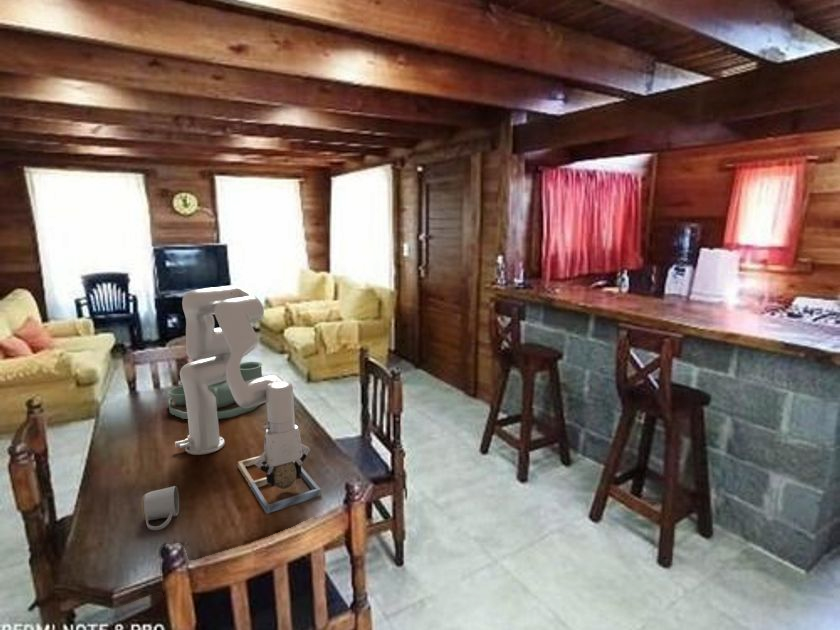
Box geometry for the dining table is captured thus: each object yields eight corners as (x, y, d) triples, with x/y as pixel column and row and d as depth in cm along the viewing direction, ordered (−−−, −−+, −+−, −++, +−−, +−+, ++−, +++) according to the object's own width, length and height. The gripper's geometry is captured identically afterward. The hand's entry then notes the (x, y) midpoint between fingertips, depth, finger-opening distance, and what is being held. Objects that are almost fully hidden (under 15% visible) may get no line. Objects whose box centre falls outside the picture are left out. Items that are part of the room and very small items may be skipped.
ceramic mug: (147, 511, 133) (144, 486, 131) (180, 505, 135) (177, 480, 134) (140, 535, 123) (136, 508, 121) (175, 528, 126) (172, 502, 124)
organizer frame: (266, 514, 132) (265, 507, 131) (238, 467, 156) (237, 461, 155) (321, 495, 140) (320, 489, 140) (286, 454, 165) (286, 448, 164)
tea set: (244, 381, 237) (241, 349, 234) (282, 404, 209) (280, 368, 205) (156, 402, 211) (151, 366, 207) (186, 431, 182) (182, 390, 179)
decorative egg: (282, 478, 147) (281, 448, 145) (302, 483, 144) (300, 453, 142) (267, 490, 140) (265, 459, 138) (287, 496, 137) (285, 464, 135)
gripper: (254, 436, 130) (258, 495, 134) (315, 421, 140) (317, 477, 143) (246, 426, 136) (250, 483, 140) (305, 413, 146) (307, 466, 149)
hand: (284, 479), depth 142 cm, fingers closed on decorative egg, 7 cm apart
